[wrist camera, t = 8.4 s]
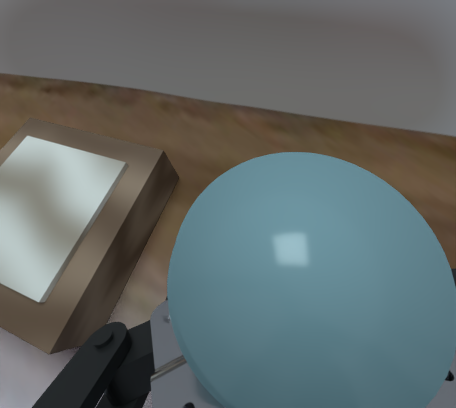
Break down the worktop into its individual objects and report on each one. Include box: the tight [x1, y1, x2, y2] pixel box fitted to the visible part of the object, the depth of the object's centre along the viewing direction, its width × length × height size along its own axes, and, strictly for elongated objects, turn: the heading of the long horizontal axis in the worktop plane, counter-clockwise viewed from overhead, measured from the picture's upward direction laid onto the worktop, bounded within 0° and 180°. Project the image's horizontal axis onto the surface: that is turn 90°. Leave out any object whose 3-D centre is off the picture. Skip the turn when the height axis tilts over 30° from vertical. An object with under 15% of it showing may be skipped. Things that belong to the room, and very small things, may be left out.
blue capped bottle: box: [167, 152, 456, 408], centre depth 9 cm, size 5×5×14 cm
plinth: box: [0, 118, 179, 354], centre depth 17 cm, size 14×14×4 cm
